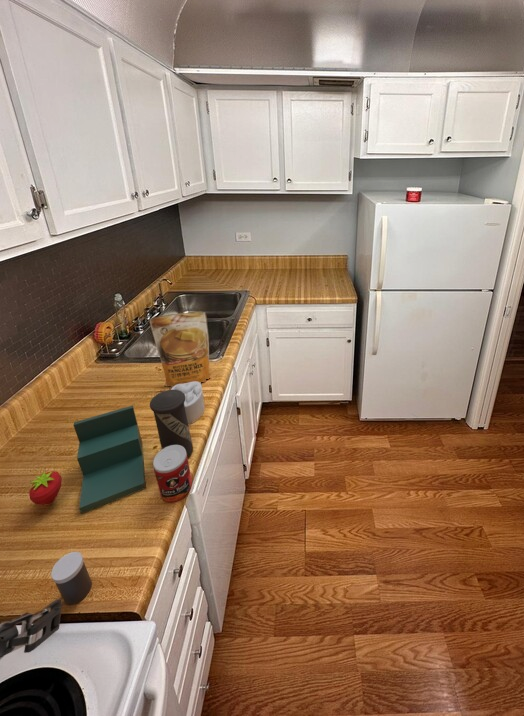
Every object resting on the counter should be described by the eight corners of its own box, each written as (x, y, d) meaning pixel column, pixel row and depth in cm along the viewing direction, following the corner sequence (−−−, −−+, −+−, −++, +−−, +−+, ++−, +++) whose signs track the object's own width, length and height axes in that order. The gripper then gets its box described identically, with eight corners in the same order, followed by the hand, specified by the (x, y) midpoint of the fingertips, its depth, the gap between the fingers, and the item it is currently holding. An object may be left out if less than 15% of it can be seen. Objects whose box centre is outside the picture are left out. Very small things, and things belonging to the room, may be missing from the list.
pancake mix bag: (163, 380, 128) (149, 314, 118) (214, 371, 133) (205, 308, 123) (160, 390, 122) (146, 322, 112) (214, 381, 127) (205, 315, 117)
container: (176, 470, 91) (163, 412, 83) (155, 456, 95) (141, 400, 87) (200, 448, 97) (191, 393, 90) (180, 436, 102) (169, 382, 94)
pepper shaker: (61, 611, 62) (48, 586, 59) (65, 585, 66) (53, 559, 63) (91, 596, 64) (80, 571, 61) (93, 571, 68) (83, 546, 65)
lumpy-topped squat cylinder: (204, 396, 119) (201, 375, 116) (205, 420, 108) (201, 399, 105) (173, 402, 116) (169, 381, 113) (170, 428, 105) (166, 406, 102)
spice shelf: (81, 513, 79) (64, 471, 74) (87, 461, 93) (73, 422, 88) (145, 488, 86) (134, 447, 80) (142, 442, 100) (132, 405, 94)
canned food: (159, 508, 81) (151, 475, 77) (160, 480, 88) (153, 449, 83) (193, 497, 83) (186, 465, 79) (191, 471, 90) (185, 440, 86)
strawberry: (72, 486, 86) (61, 457, 82) (59, 513, 79) (46, 484, 76) (46, 491, 85) (34, 462, 81) (30, 519, 78) (16, 489, 74)
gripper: (12, 624, 40) (81, 573, 54) (-133, 654, 37) (-19, 593, 52) (-4, 711, 37) (74, 633, 51) (-161, 750, 34) (-32, 656, 49)
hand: (27, 613), depth 52 cm, fingers open, 8 cm apart
